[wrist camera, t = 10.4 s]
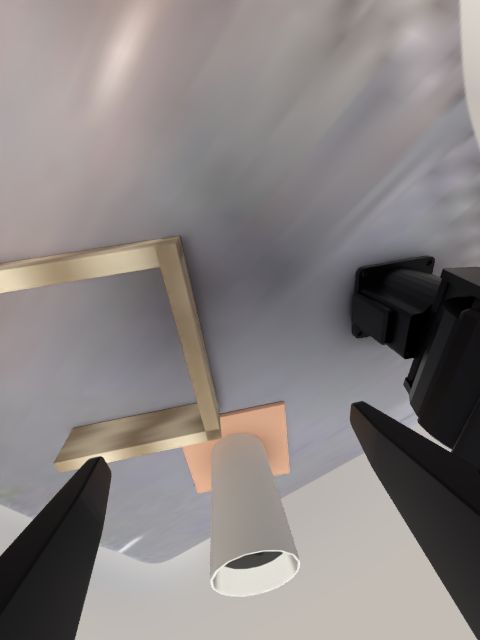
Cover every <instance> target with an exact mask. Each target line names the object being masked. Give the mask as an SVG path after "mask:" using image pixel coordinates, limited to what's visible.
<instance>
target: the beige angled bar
mask: <svg viewBox="0 0 480 640" xmlns="http://www.w3.org/2000/svg"><path fill="white" fill-rule="evenodd" d="M157 267H160V269H161V272H162V276H163V280H164V283H165V287H166V291H167V294H168V298H169V301H170V305H171V309H172V312H173V316H174V320H175V323H176V327H177V331H178V334H179V338H180V341H181V345H182V349H183V352H184V356H185V360H186V363H187V367H188V371H189V374H190V378H191V381H192V385H193V389H194V392H195V396H196V400H197V403H196V404H191V405H186V406H181V407H176V408H171V409H166V410H161V411H156V412H151V413H146V414H141V415H136V416H131V417H126V418H121V419H116V420H111V421H106V422H101V423H97V424H92V425H87V426H82V427H77V428H73V429H72V431H71V433H70V435H69V437H68V438H67V440H66V442H65V444H64V445H63V447H62V449H61V451H60V452H59V454H58V456H57V458H56V460H55V461H54V463H53V464H54V465H55V466H56V468H57V469H58V471H59V472H60V473H61V472H66V471H70V470H75V469H80V468H81V466H82V465H83V464H84V463H85V462H86V461H87V460H88V459H90V458H93V457H98V456H102V457H103V458H104V459H105V461H106V463H108V462H112V461H117V460H122V459H127V458H131V457H136V456H141V455H145V454H150V453H155V452H159V451H164V450H169V449H174V448H178V447H183V446H188V445H192V444H197V443H202V442H206V441H211V440H216V439H221V438H222V435H221V424H220V413H219V406H218V401H217V397H216V392H215V388H214V384H213V379H212V375H211V370H210V366H209V362H208V357H207V353H206V348H205V344H204V340H203V335H202V331H201V326H200V322H199V318H198V313H197V309H196V304H195V300H194V296H193V291H192V287H191V282H190V278H189V273H188V269H187V265H186V260H185V256H184V251H183V247H182V243H181V238H180V236H175V237H169V238H162V239H156V240H150V241H143V242H137V243H130V244H124V245H117V246H111V247H105V248H98V249H92V250H85V251H79V252H72V253H66V254H60V255H53V256H47V257H40V258H34V259H27V260H21V261H15V262H8V263H2V264H0V293H4V292H10V291H16V290H22V289H28V288H34V287H41V286H47V285H53V284H59V283H65V282H71V281H77V280H83V279H90V278H96V277H102V276H108V275H114V274H120V273H126V272H132V271H139V270H145V269H151V268H157Z"/></svg>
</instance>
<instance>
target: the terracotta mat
mask: <svg viewBox="0 0 480 640" xmlns="http://www.w3.org/2000/svg"><path fill="white" fill-rule="evenodd" d="M220 424H221V435H222V438H224V437H227V436H229V435H231V434H237V433H248V434H253V435H255V436H256V437H258V438H260V440H261V441H262V442H263V444H264V447H265V450H266V453H267V457H268V460H269V463H270V466H271V470H272V473H273V476H277V475H281V474H286V473H290V470H289V456H288V442H287V428H286V414H285V403H284V401H282V402H277V403H273V404H268V405H263V406H258V407H253V408H248V409H243V410H239V411H234V412H229V413H224V414H220ZM222 438H221V439H222ZM221 439H216V440H211V441H206V442H202V443H197V444H192V445H188V446H183V447H182V448H183V451H184V454H185V457H186V460H187V463H188V466H189V468H190V471H191V474H192V477H193V480H194V483H195V486H196V489H197V492H198V493H202V492H206V491H211V452H212V450H213V448H214V445H215V444H216V443H218V442H219V441H220V440H221Z"/></svg>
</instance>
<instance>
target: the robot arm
mask: <svg viewBox="0 0 480 640" xmlns="http://www.w3.org/2000/svg"><path fill="white" fill-rule="evenodd" d="M427 261H428V262H427ZM426 262H427V264H426ZM434 263H435V259H434V258H433V257H431V256H422V257H416V258H410V259H405V260H399V261H393V262H387V263H381V264H376V265H370V266H364V267H361V268H359V269H358V271H357V273H356V286H355V294H354V297H353V311H352V322H353V327H352V334H353V336H355V337H356V338H363V337H368V336H371V337H373V338H374V339H375V340H376V341H378V342H379V343H380V344H382V345H385V344H386V345H387V346H389V347H390V348H391V349H393V350H394V351H395V352H396V353H398V354H399V355H400V356H402V357H403V358H404V359H410V358H414V360H413V363H412V366H411V368H410V371H409V374H408V377H406V378H405V381H404V384H403V385H404V387H405V388H406V390H407V392H408V394H409V398H410V405H411V406H412V408H413V410H414V411H415V413H416V415H417V416H418V417H419V418H418V423H419V424H420V425H421V426H422V427H423V428H424V429H425V430H426V431H427V432H428V433H429V434H430V435H431V436H432V437H434V438H435V439H436V440H438V441H439V442H440V443H442V444H443V445H445V446H447V447H448V448H450V449H452V451H451V452H449V451H447V450H445V449H444V448H442V447H440V446H439V445H437V444H435V443H434V442H432V441H430V440H428V439H427V438H425V437H423V436H422V435H420V434H418V433H416V432H415V431H413V430H411V429H410V428H408V427H406V426H405V425H403V424H401V423H399V422H398V421H396V420H394V419H393V418H391V417H389V416H388V415H386V414H384V413H382V412H381V411H379V410H377V409H376V408H374V407H372V406H370V405H369V404H367V403H365V402H363V401H360V402H355V403H352V405H351V411H350V423H351V425H352V428H353V430H354V432H355V434H356V436H357V438H358V440H359V442H360V444H361V446H362V448H363V450H364V452H365V454H366V456H367V458H368V460H369V462H370V464H371V466H372V468H373V469H374V471H375V473H376V475H377V476H378V478H379V480H380V481H381V483H382V485H383V486H384V488H385V489H386V491H387V493H388V494H389V496H390V498H391V499H392V501H393V502H394V504H395V506H396V507H397V509H398V511H399V512H400V514H401V516H402V517H403V519H404V520H405V522H406V523H407V525H408V527H409V529H410V530H411V532H412V533H413V535H414V537H415V538H416V540H417V542H418V543H419V545H420V546H421V548H422V550H423V552H424V553H425V555H426V556H427V558H428V559H429V561H430V563H431V564H432V566H433V568H434V569H435V571H436V573H437V574H438V576H439V577H440V579H441V581H442V583H443V584H444V586H445V587H446V589H447V591H448V592H449V594H450V595H451V597H452V599H453V600H454V602H455V604H456V605H457V607H458V608H459V610H460V612H461V614H462V615H463V617H464V618H465V620H466V622H467V623H468V625H469V626H470V628H471V630H472V631H473V633H474V635H475V636H476V638H477V639H478V640H480V267H465V268H443V270H442V273H441V276H440V277H438V276H435V275H432V272H433V267H434ZM364 271H365V274H364V275H363V276H362V273H363V272H364ZM359 331H360V332H359ZM358 332H359V333H358ZM357 333H358V334H357ZM110 483H111V470H110V468H109V467H108V465H107V463H106V461H105V459H104V458H103V457H102V456H98V457H93V458H90V459H88V460H87V461H86V462H85V463H84V464H83V465H82V466H81V468H80V469H79V470H78V471H77V472H76V473H75V474H74V475H73V476H72V478H71V479H70V480H69V481H68V482H67V483H66V484H65V485H64V486H63V487H62V489H61V490H60V491H59V492H58V493H57V494H56V495H55V496H54V497H53V498H52V500H51V501H50V502H49V503H48V504H47V505H46V506H45V507H44V508H43V510H42V511H41V512H40V513H39V514H38V515H37V516H36V517H35V518H34V519H33V521H32V522H31V523H30V524H29V525H28V526H27V527H26V528H25V529H24V531H23V532H22V533H21V534H20V535H19V536H18V537H17V538H16V539H15V540H14V542H13V543H12V544H11V545H10V546H9V547H8V548H7V549H6V550H5V552H4V553H3V554H2V555H1V556H0V640H75V636H76V632H77V629H78V624H79V621H80V617H81V613H82V609H83V605H84V601H85V597H86V594H87V590H88V586H89V582H90V578H91V574H92V570H93V566H94V562H95V558H96V554H97V551H98V547H99V543H100V539H101V535H102V530H103V526H104V520H105V514H106V508H107V501H108V495H109V489H110Z"/></svg>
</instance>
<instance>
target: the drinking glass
mask: <svg viewBox="0 0 480 640" xmlns="http://www.w3.org/2000/svg"><path fill="white" fill-rule="evenodd" d="M210 562H211V563H210V582H211V586H212V589H214V590H215V591H217V592H218V593H220V594H222V595H228V596H233V597H237V596H252V595H256V594H261V593H265V592H268V591H270V590H272V589H275V588H277V587H280V586H282V585H283V584H285V583H286V582H287V581H289V580H291V579H292V578H293V577H294V576H295V574H296V573H297V572H298V570H299V566H300V559H299V556H298V553H297V550H296V547H295V544H294V541H293V537H292V534H291V530H290V527H289V524H288V521H287V518H286V515H285V511H284V508H283V505H282V502H281V498H280V495H279V492H278V489H277V486H276V482H275V479H274V476H273V473H272V470H271V466H270V463H269V460H268V457H267V453H266V450H265V447H264V444H263V442H262V441H261V440H260V438H258V437H256V436H255V435H253V434H248V433H237V434H231V435H229V436H227V437H224V438H222V439H221V440H220V441H219V442H218V443H216V444H215V445H214V448H213V450H212V452H211V552H210Z"/></svg>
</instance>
